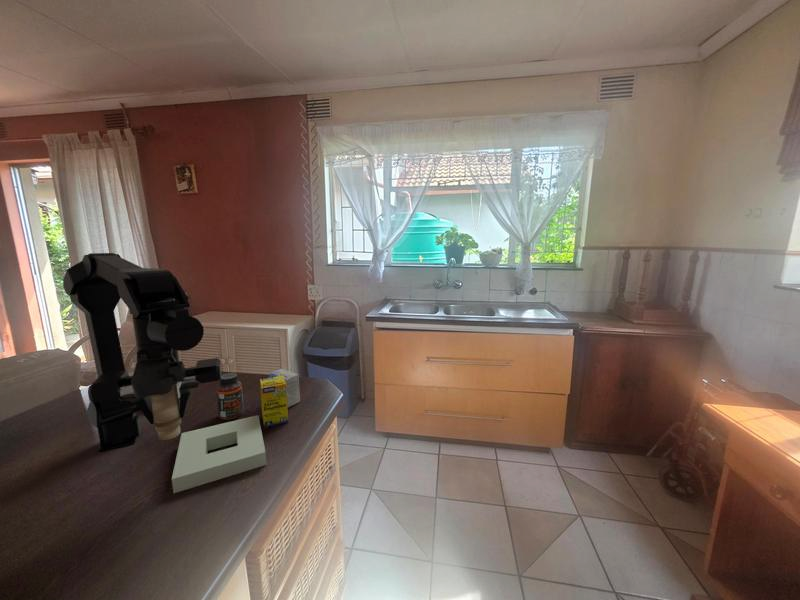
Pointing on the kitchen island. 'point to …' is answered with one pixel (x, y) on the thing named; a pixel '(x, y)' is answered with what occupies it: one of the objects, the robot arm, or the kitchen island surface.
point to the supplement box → (274, 401)
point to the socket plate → (218, 453)
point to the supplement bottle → (229, 397)
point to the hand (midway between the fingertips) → (168, 419)
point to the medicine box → (289, 385)
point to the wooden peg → (166, 414)
